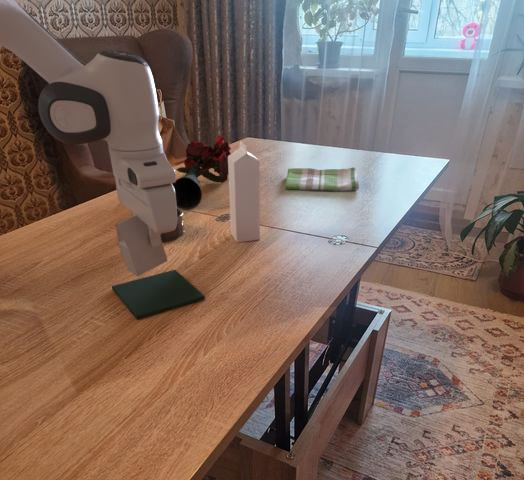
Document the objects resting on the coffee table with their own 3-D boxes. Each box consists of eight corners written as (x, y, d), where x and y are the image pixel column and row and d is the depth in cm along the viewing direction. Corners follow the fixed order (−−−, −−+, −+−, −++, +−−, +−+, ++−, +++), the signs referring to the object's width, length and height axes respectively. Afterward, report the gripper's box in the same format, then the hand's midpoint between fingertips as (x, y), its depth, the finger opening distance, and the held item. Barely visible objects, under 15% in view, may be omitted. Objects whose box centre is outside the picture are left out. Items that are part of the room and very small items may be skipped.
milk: (236, 243, 117) (232, 147, 105) (230, 233, 122) (226, 141, 109) (260, 240, 119) (259, 145, 106) (253, 231, 124) (252, 139, 111)
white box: (167, 260, 92) (153, 212, 86) (137, 276, 89) (120, 227, 83) (157, 255, 94) (142, 207, 88) (127, 270, 91) (110, 221, 85)
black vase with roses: (194, 235, 141) (206, 191, 169) (240, 194, 134) (244, 155, 161) (154, 195, 134) (172, 156, 161) (200, 150, 126) (211, 117, 154)
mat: (136, 319, 88) (136, 316, 88) (112, 289, 98) (111, 285, 98) (204, 299, 95) (204, 295, 94) (175, 272, 104) (175, 269, 104)
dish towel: (358, 192, 149) (360, 181, 147) (284, 190, 151) (285, 179, 149) (355, 177, 163) (356, 166, 161) (287, 175, 165) (288, 164, 163)
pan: (145, 246, 116) (142, 226, 113) (128, 230, 124) (124, 211, 121) (192, 235, 121) (190, 216, 118) (172, 221, 130) (170, 202, 127)
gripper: (101, 153, 87) (114, 226, 95) (142, 180, 73) (154, 263, 81) (134, 148, 90) (145, 220, 98) (180, 174, 76) (188, 255, 84)
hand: (149, 240), depth 90 cm, fingers closed on white box, 4 cm apart
